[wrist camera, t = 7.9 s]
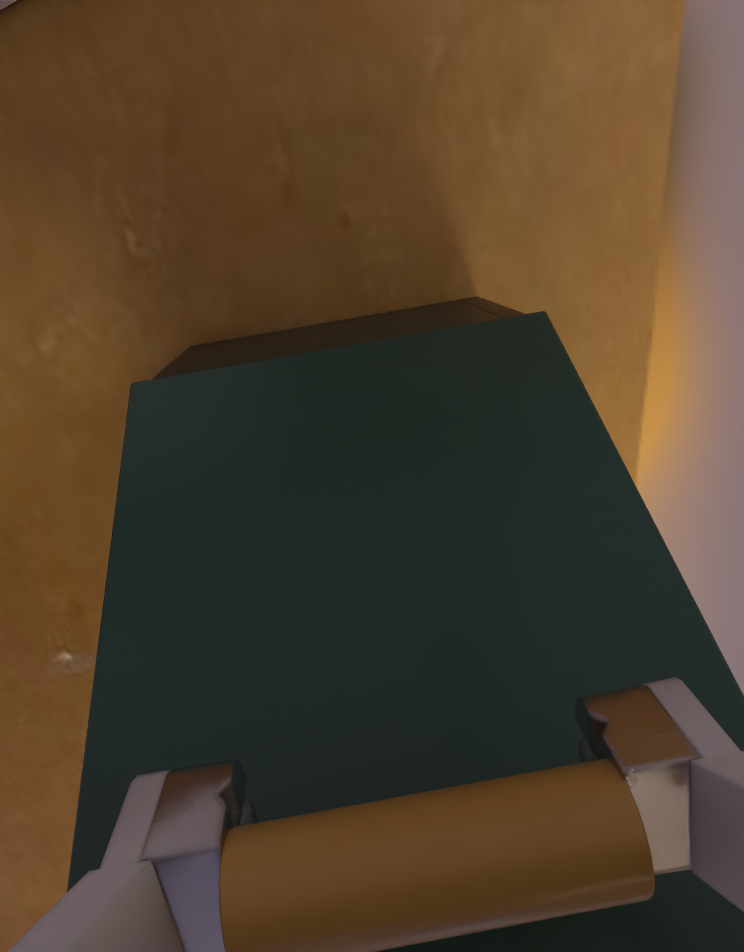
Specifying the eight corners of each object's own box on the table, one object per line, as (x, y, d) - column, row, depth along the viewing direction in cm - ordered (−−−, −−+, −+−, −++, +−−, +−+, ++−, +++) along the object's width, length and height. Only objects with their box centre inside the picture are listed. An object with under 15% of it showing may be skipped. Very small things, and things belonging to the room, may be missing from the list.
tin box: (510, 607, 35) (571, 723, 26) (266, 651, 34) (250, 782, 26) (477, 296, 29) (540, 318, 21) (189, 346, 29) (138, 388, 21)
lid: (868, 985, 10) (1096, 955, 7) (57, 1141, 10) (-174, 1198, 7) (543, 330, 21) (561, 176, 17) (139, 401, 21) (69, 261, 17)
